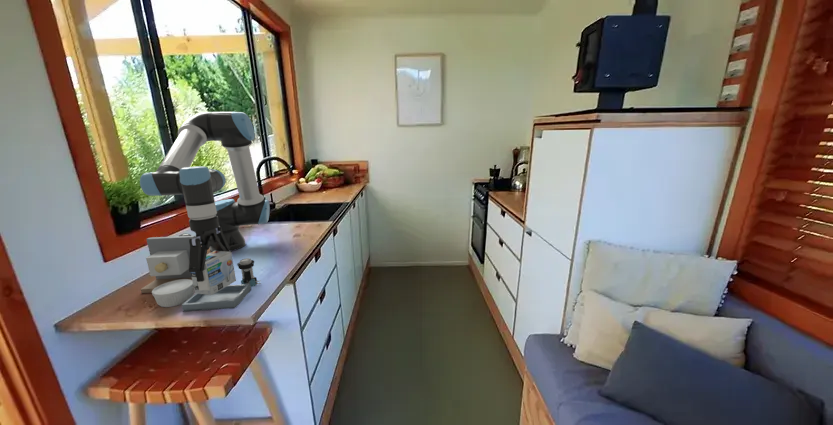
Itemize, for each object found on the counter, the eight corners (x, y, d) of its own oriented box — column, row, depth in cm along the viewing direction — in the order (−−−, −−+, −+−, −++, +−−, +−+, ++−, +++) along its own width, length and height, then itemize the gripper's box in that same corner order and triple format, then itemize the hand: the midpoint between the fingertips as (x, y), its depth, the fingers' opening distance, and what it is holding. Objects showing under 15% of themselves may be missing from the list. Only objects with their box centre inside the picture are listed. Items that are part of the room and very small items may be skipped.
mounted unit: (161, 280, 119) (151, 237, 115) (205, 277, 121) (196, 235, 116) (140, 293, 109) (128, 246, 105) (188, 290, 111) (178, 244, 106)
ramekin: (170, 293, 110) (167, 279, 108) (203, 291, 110) (200, 277, 109) (146, 310, 99) (142, 295, 97) (183, 308, 99) (179, 293, 98)
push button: (263, 281, 117) (259, 256, 114) (258, 288, 111) (254, 262, 109) (244, 282, 116) (240, 257, 113) (238, 289, 111) (234, 263, 108)
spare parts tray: (205, 292, 109) (203, 286, 108) (251, 290, 110) (250, 283, 110) (183, 311, 97) (181, 304, 97) (235, 308, 99) (233, 301, 98)
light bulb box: (212, 295, 97) (205, 263, 94) (193, 294, 98) (187, 262, 95) (237, 280, 107) (232, 251, 104) (220, 279, 108) (215, 249, 106)
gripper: (211, 208, 108) (222, 266, 113) (163, 228, 85) (179, 300, 90) (234, 207, 109) (243, 265, 114) (192, 227, 85) (206, 298, 91)
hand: (215, 280), depth 102 cm, fingers closed on light bulb box, 12 cm apart
